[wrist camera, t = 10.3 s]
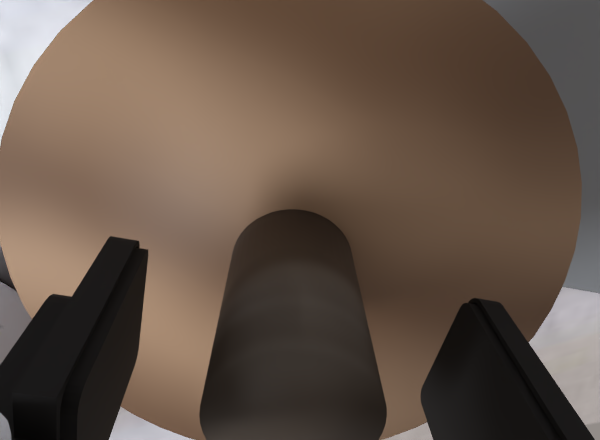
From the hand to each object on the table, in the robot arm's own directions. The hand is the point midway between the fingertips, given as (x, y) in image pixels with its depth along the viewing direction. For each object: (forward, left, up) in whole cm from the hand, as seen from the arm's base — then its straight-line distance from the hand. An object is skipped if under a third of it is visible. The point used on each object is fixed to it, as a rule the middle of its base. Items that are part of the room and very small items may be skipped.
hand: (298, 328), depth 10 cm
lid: (0, 0, -4) cm, 4 cm away
